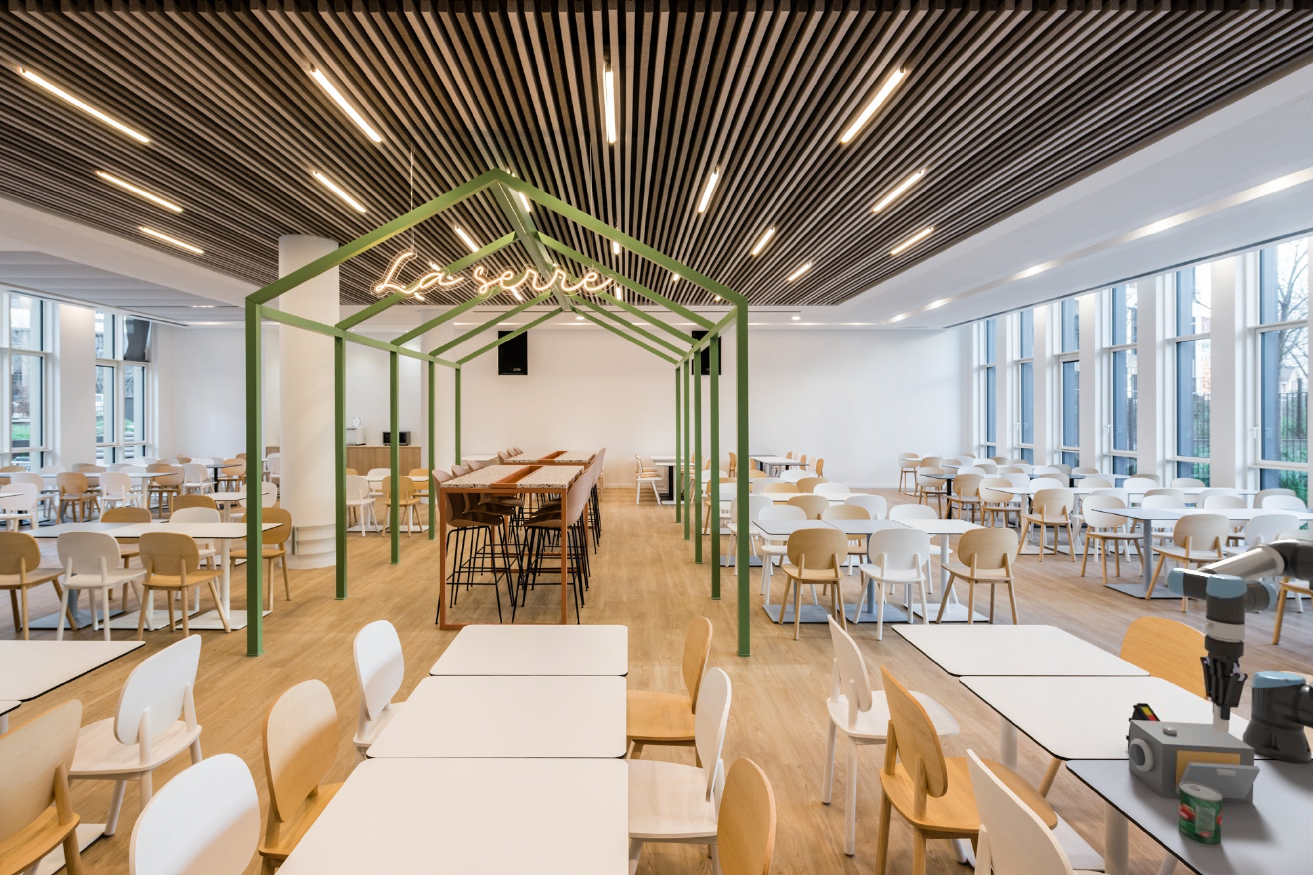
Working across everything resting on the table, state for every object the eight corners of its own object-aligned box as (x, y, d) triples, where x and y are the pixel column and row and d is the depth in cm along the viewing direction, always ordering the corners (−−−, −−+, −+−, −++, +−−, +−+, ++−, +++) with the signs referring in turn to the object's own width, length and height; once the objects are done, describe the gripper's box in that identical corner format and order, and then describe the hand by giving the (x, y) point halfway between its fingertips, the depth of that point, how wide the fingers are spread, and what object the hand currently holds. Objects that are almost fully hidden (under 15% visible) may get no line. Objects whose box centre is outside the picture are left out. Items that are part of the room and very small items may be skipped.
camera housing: (1213, 773, 186) (1214, 720, 185) (1253, 803, 171) (1255, 745, 171) (1120, 768, 188) (1121, 715, 188) (1152, 796, 174) (1154, 739, 174)
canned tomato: (1230, 846, 154) (1232, 799, 153) (1198, 847, 153) (1200, 800, 153) (1199, 825, 161) (1201, 780, 161) (1169, 826, 161) (1170, 781, 161)
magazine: (1132, 737, 203) (1147, 702, 197) (1158, 776, 192) (1176, 740, 185) (1119, 736, 204) (1134, 701, 197) (1145, 775, 192) (1162, 740, 185)
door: (1175, 790, 173) (1188, 762, 168) (1241, 795, 171) (1257, 766, 167) (1179, 798, 171) (1193, 769, 166) (1247, 802, 170) (1263, 773, 165)
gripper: (1190, 628, 174) (1186, 718, 175) (1227, 645, 161) (1223, 741, 162) (1221, 630, 174) (1217, 720, 174) (1261, 646, 161) (1257, 743, 161)
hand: (1220, 730), depth 168 cm, fingers closed
